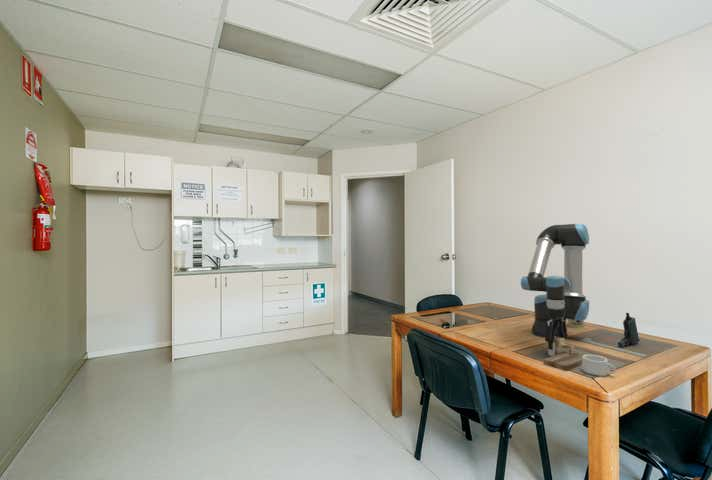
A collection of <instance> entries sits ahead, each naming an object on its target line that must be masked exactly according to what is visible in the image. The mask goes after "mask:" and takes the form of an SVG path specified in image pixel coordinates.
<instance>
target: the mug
mask: <svg viewBox="0 0 712 480" xmlns="http://www.w3.org/2000/svg"><path fill="white" fill-rule="evenodd" d="M582 355H583V357H582V365H580V367H581V370H582V371H583V372H584V373H585V374H588V375H592V376H597V377H606V376H608V375H612V374H615V373H616V371H617V370H616V367H615V366H614V365H613V364H611V363H609V361H608V359H607V358H606V357H604V356H601V355H596V354H582ZM610 367H611V368H612V369H613V370H612V371H610Z"/></svg>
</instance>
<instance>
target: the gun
mask: <svg viewBox="0 0 712 480" xmlns="http://www.w3.org/2000/svg"><path fill="white" fill-rule="evenodd" d="M625 315H626V316H625V319H624V320H623V321H622V322H623V323H622V324H623V330H624V331H623V335H624V337H623V338H621V339H620V341H618V342H617V345H618V348H621V349H623V348H624V346H626V347H628V346H629V345H631V346H635V345H636V344H637V343H639V342H641V340H640V338H639V333H638V328H637V324H636V322H637V321H636V318H635V317H632V316H630V313H629V312H625Z"/></svg>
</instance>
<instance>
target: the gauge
mask: <svg viewBox="0 0 712 480" xmlns="http://www.w3.org/2000/svg"><path fill="white" fill-rule="evenodd" d="M553 343H555V355H556V354H559V353H562V352H564V351H566V349H567V350H568V351H569V353H571V352H572V351H574V350H575V346H574V345H571V344H567V343H566V339H565V338H561V337H556V336H555V338H554V342H553Z"/></svg>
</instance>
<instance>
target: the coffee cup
mask: <svg viewBox="0 0 712 480" xmlns="http://www.w3.org/2000/svg"><path fill="white" fill-rule="evenodd" d="M567 320H568V322H567V323H568V327H569V328H575V329H583V328H584V325H585V323H584V322H585V320H584V321H579V320H571V319H567Z"/></svg>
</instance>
